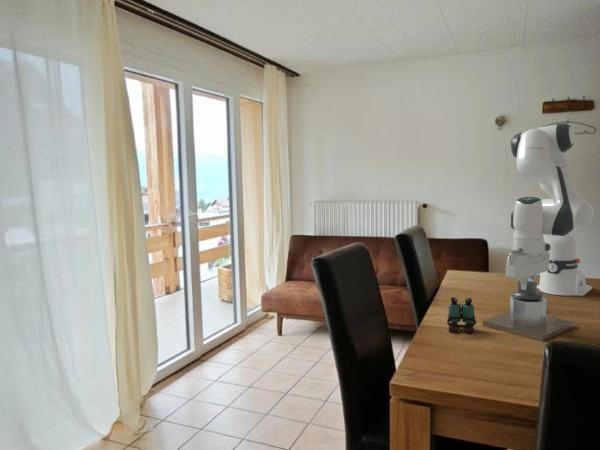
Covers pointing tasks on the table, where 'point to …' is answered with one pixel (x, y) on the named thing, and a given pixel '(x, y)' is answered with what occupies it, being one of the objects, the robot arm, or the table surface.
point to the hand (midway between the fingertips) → (527, 288)
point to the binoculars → (461, 316)
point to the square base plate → (529, 320)
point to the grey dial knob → (528, 292)
